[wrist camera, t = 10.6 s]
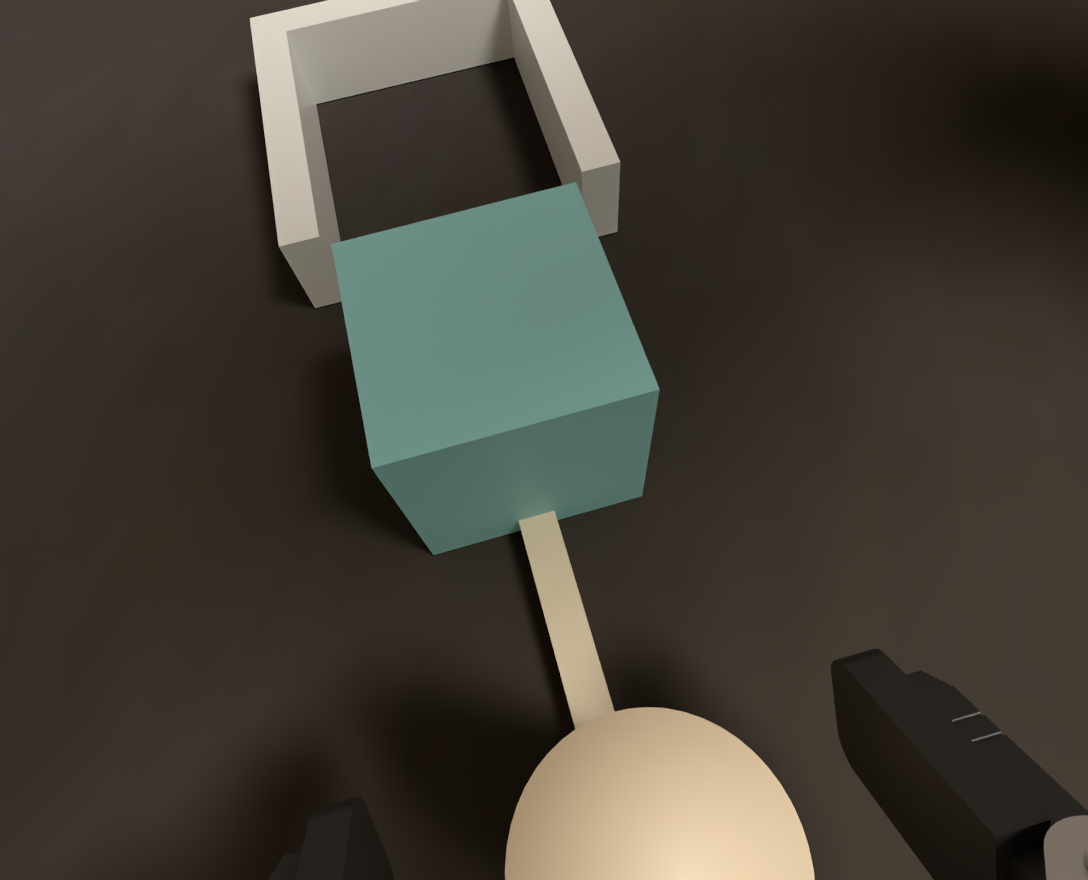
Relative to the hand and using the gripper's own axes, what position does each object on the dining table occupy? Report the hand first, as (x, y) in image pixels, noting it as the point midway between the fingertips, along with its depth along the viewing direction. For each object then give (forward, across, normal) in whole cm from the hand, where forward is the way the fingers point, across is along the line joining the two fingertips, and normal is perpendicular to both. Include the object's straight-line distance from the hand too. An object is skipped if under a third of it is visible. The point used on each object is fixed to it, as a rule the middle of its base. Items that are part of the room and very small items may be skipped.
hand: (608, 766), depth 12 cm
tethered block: (+7, 0, +1) cm, 8 cm away
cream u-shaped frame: (+19, 0, -11) cm, 22 cm away
